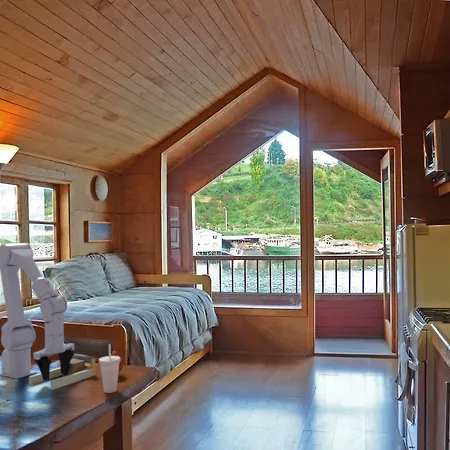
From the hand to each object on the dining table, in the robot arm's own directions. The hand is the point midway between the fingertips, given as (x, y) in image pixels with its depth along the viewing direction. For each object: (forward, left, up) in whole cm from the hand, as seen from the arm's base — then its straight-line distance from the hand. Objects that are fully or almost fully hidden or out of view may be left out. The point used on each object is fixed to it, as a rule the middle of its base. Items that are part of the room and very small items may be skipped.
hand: (55, 377), depth 166 cm
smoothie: (+22, +2, -2) cm, 22 cm away
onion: (+12, +14, -2) cm, 19 cm away
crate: (0, +7, -2) cm, 8 cm away
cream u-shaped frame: (0, +3, -2) cm, 3 cm away
